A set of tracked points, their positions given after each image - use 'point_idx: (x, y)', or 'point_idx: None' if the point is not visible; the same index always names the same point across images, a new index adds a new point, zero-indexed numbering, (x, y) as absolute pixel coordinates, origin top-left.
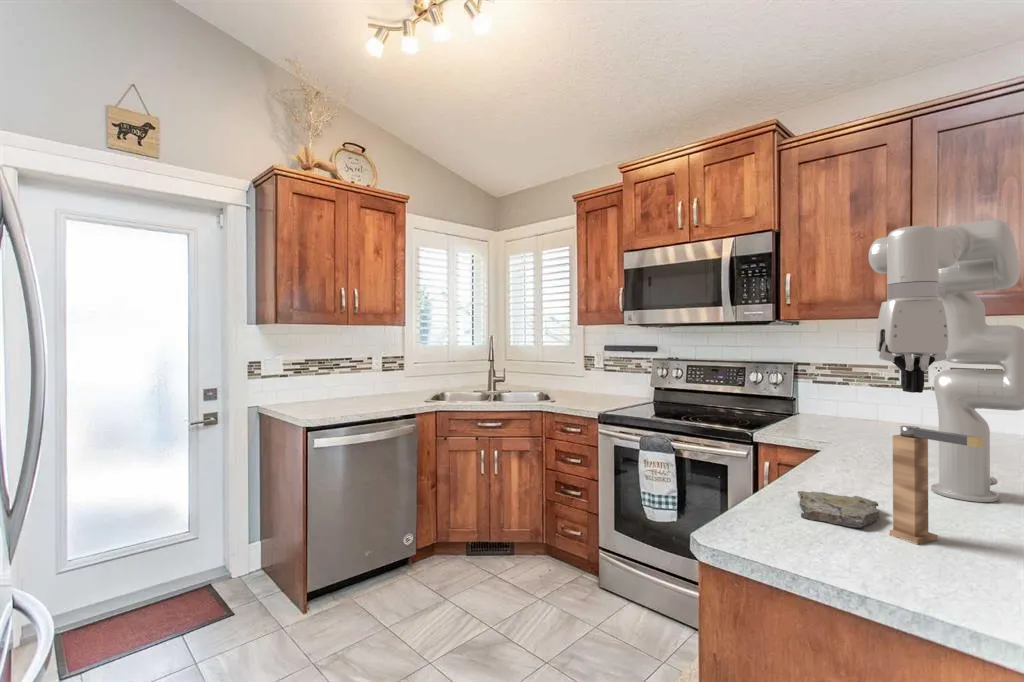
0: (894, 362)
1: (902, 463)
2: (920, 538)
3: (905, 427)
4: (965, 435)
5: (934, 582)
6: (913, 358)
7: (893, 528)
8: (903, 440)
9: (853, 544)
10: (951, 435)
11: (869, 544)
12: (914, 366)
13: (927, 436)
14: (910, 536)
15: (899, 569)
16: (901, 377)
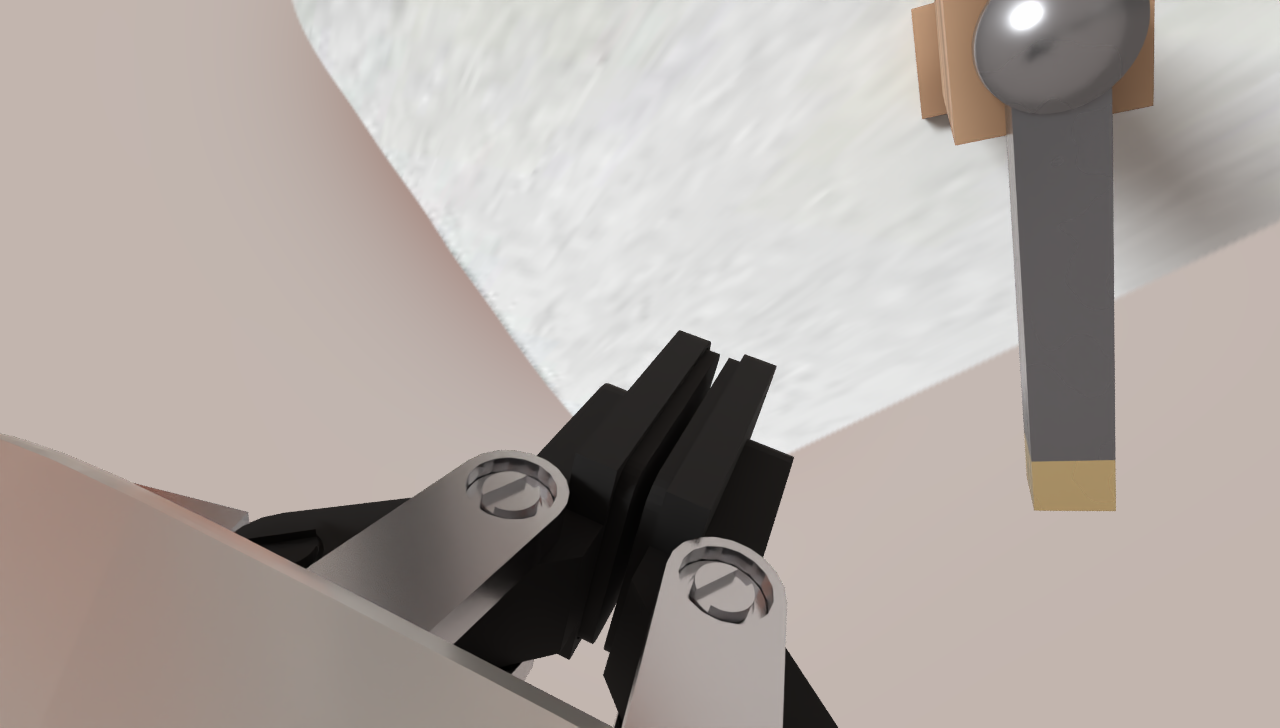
0: (326, 536)
1: (943, 49)
2: (945, 113)
3: (976, 61)
4: (1084, 430)
5: (713, 339)
6: (628, 724)
7: (934, 3)
8: (947, 60)
9: (698, 84)
10: (1028, 372)
11: (751, 91)
12: (634, 636)
13: (1013, 208)
14: (926, 88)
15: (690, 265)
16: (563, 433)
